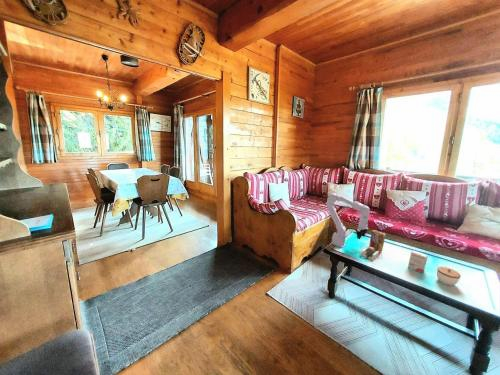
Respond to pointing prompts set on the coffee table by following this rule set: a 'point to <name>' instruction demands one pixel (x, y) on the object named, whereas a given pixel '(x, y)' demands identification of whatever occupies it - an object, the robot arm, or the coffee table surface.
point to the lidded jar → (448, 276)
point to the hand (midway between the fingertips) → (360, 237)
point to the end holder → (369, 256)
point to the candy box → (377, 240)
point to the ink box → (417, 261)
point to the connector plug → (370, 251)
